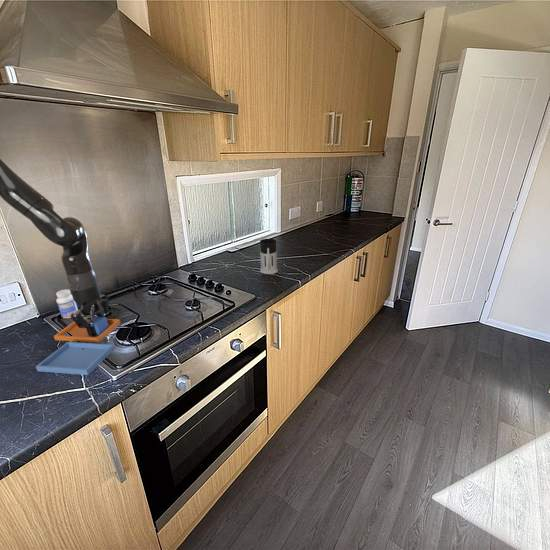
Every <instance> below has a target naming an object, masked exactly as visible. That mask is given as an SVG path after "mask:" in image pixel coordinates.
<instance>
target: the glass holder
mask: <svg viewBox="0 0 550 550" xmlns="http://www.w3.org/2000/svg"><path fill="white" fill-rule="evenodd" d="M259 246H260V247H259V249H260V250H259V252H260V253H259V254H260V255H259V257H260V270H259V271H260V273H261V274H264V275H273V274H276V273H278V272H279V268H278V249H277V240H276V239H275V238H263V239H260V240H259Z"/></svg>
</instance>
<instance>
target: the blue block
mask: <svg viewBox="0 0 550 550" xmlns="http://www.w3.org/2000/svg"><path fill="white" fill-rule="evenodd" d="M107 319H108V318H107V317H106V316H105V317H97V316H94V319H93V325H94V327H95V330H96V333H97V335H96V336H99V335H100V334H102V333H103V332H104V331H105V330H106V329H107V328H109V326H108V323H107ZM88 323H89V321H88Z"/></svg>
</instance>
